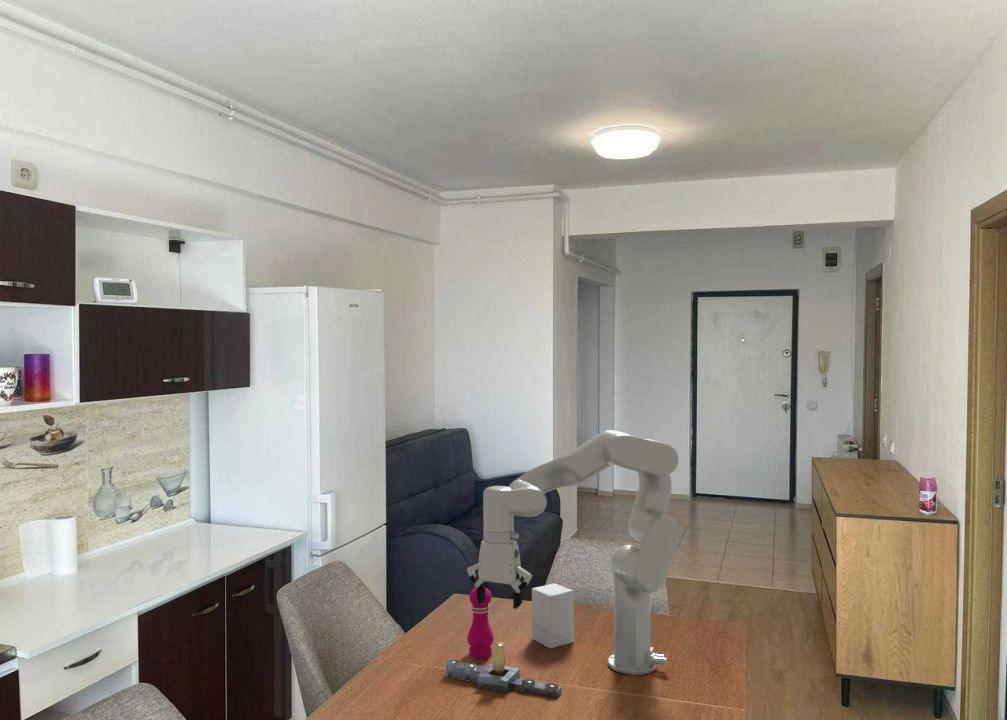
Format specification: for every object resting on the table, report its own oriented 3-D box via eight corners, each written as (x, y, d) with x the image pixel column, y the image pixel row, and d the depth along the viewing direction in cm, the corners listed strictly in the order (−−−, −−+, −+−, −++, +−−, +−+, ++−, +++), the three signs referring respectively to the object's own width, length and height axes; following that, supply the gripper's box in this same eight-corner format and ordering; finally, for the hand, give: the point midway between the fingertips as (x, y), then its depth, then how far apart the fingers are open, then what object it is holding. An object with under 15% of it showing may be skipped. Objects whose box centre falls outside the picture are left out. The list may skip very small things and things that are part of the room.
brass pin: (506, 682, 195) (506, 643, 194) (501, 687, 192) (501, 647, 192) (495, 680, 196) (495, 641, 196) (490, 685, 193) (490, 645, 193)
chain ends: (564, 688, 191) (564, 674, 191) (553, 702, 184) (553, 687, 184) (453, 668, 203) (453, 655, 203) (439, 680, 196) (439, 666, 196)
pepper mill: (497, 651, 215) (497, 579, 214) (488, 661, 208) (488, 587, 207) (473, 647, 217) (472, 576, 217) (463, 657, 210) (463, 584, 210)
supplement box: (575, 642, 221) (575, 590, 221) (550, 649, 216) (550, 596, 216) (555, 632, 228) (555, 582, 228) (530, 639, 223) (530, 587, 223)
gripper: (536, 536, 193) (536, 604, 194) (473, 530, 200) (474, 595, 200) (525, 543, 186) (525, 614, 187) (460, 536, 193) (461, 605, 193)
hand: (499, 604), depth 194 cm, fingers open, 9 cm apart
